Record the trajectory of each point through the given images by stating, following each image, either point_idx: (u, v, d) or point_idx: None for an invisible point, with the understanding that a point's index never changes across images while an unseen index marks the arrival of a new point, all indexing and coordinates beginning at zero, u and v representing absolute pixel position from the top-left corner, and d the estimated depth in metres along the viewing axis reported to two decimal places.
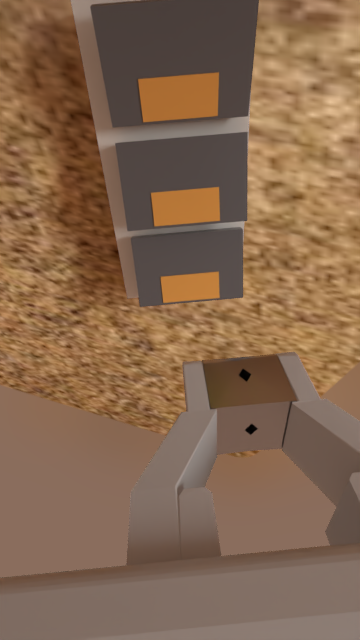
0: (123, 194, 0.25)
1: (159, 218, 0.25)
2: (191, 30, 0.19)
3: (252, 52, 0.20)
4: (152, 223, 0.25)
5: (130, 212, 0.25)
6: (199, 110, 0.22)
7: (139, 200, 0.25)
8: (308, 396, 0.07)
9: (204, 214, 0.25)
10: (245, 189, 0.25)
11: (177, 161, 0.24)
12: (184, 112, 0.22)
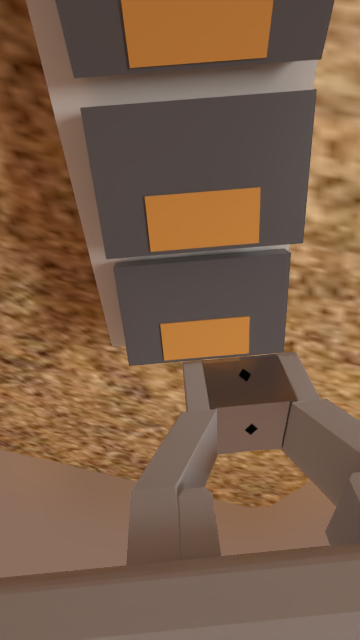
0: (97, 199, 0.14)
1: (159, 239, 0.15)
2: None
3: None
4: (147, 247, 0.15)
5: (110, 229, 0.15)
6: (234, 45, 0.12)
7: (125, 209, 0.15)
8: (308, 396, 0.07)
9: (233, 233, 0.15)
10: (304, 191, 0.15)
11: (190, 142, 0.14)
12: (206, 49, 0.12)
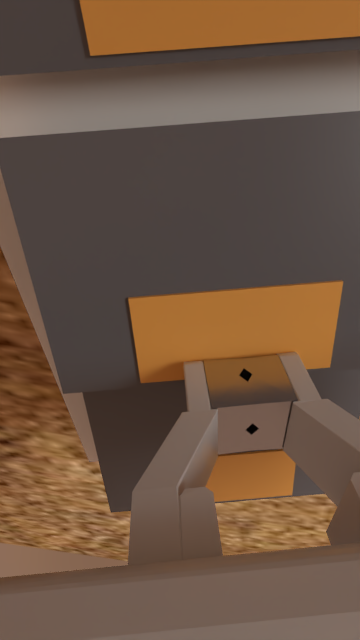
0: (41, 302, 0.08)
1: (156, 364, 0.09)
2: None
3: None
4: (134, 375, 0.09)
5: (68, 349, 0.08)
6: (323, 5, 0.05)
7: (93, 318, 0.08)
8: (309, 396, 0.07)
9: (286, 352, 0.09)
10: None
11: (217, 204, 0.07)
12: (259, 14, 0.05)
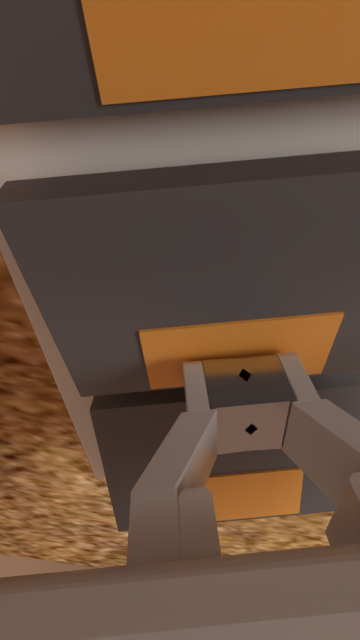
0: (55, 336, 0.08)
1: (165, 377, 0.09)
2: None
3: None
4: (145, 383, 0.10)
5: (83, 368, 0.09)
6: (326, 55, 0.05)
7: (105, 345, 0.08)
8: (308, 396, 0.07)
9: None
10: None
11: (228, 255, 0.07)
12: (265, 65, 0.06)
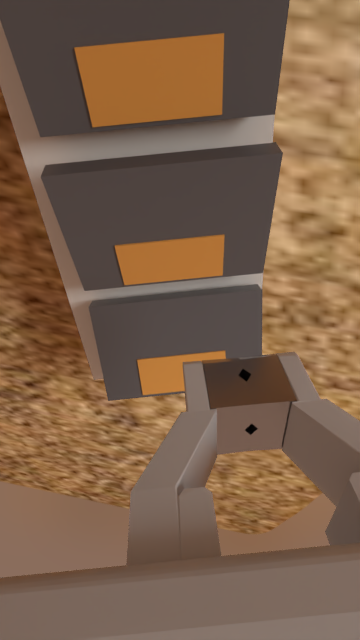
0: (70, 248, 0.15)
1: (131, 276, 0.17)
2: None
3: None
4: (121, 281, 0.17)
5: (85, 270, 0.16)
6: (190, 105, 0.13)
7: (97, 255, 0.16)
8: (308, 396, 0.07)
9: (199, 268, 0.17)
10: (266, 236, 0.16)
11: (156, 201, 0.14)
12: (163, 109, 0.13)
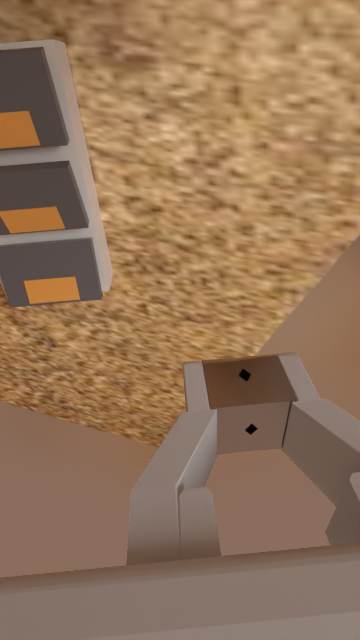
0: None
1: (12, 228, 0.30)
2: None
3: (52, 95, 0.24)
4: (8, 231, 0.31)
5: None
6: (22, 140, 0.26)
7: None
8: (308, 396, 0.07)
9: (50, 224, 0.30)
10: (80, 207, 0.29)
11: (12, 189, 0.27)
12: (9, 142, 0.26)
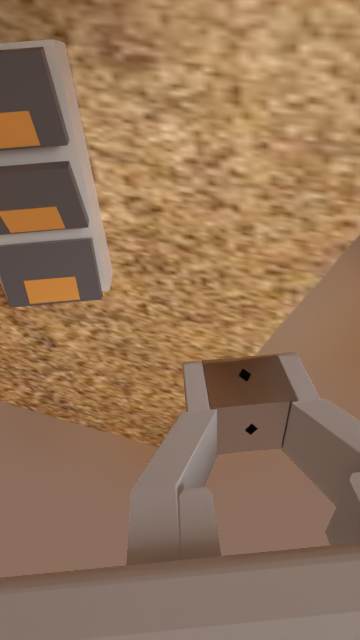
0: None
1: (13, 228, 0.30)
2: None
3: (52, 95, 0.24)
4: (8, 230, 0.31)
5: None
6: (22, 140, 0.26)
7: None
8: (308, 396, 0.07)
9: (50, 224, 0.31)
10: (80, 207, 0.29)
11: (12, 190, 0.27)
12: (9, 142, 0.26)
